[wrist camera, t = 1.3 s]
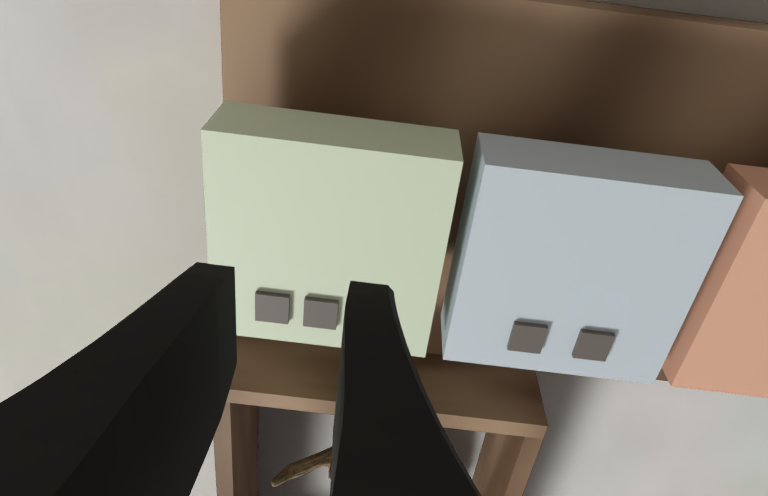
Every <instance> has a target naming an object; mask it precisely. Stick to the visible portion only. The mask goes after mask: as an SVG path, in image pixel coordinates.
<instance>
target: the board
mask: <svg viewBox="0 0 768 496" xmlns="http://www.w3.org/2000/svg"><path fill="white" fill-rule="evenodd" d="M220 21H221V51H222V82H223V102H224V101H230V102H238V103H246V104H254V105H262V106H270V107H278V108H286V109H294V110H302V111H311V112H319V113H327V114H335V115H343V116H351V117H359V118H367V119H375V120H383V121H392V122H400V123H408V124H416V125H424V126H432V127H440V128H448V129H456V130H459V135H460V142H461V149H462V155H463V167H462V172H461V177H460V182H459V187H458V192H457V197H456V203H455V208H454V213H453V218H452V223H451V228H450V233H449V238H448V243H447V248H446V254H445V259H444V264H443V269H442V274H441V279H440V284H439V289H438V294H437V300H436V305H435V310H434V315H433V320H432V325H431V330H430V335H429V340H428V345H427V351H426V356H425V357H416V356H411V357H412V359H413V362H414V364H415V367H416V369H417V372H418V374H419V377H420V379H421V382H422V384H423V386H424V389H425V391H426V393H427V395H428V398H429V400H430V402H431V404H432V406H433V408H434V410H435V412H436V414H437V417H438V419H439V421H440V423H441V425H442V427H445V428H454V429H462V430H471V431H480V432H486V435H485V438H484V442H483V445H482V448H481V452H480V455H479V459H478V462H477V465H476V469H475V472H474V476H473V479H472V481H473V482H474V484H475V486H476V488H477V489H478V491H479V492H480V494H481V495H482V496H522V495H523V492H524V489H525V487H526V484H527V481H528V479H529V476H530V473H531V470H532V468H533V465H534V462H535V460H536V457H537V454H538V452H539V449H540V446H541V444H542V441H543V438H544V435H545V433H546V430H547V427H548V424H547V420H546V416H545V411H544V407H543V403H542V398H541V394H540V389H539V385H538V381H537V376H536V372H535V370H527V369H519V368H510V367H502V366H493V365H484V364H476V363H467V362H459V361H450V360H443V353H442V332H441V311H442V306H443V301H444V297H445V292H446V287H447V282H448V277H449V272H450V267H451V262H452V257H453V252H454V248H455V243H456V238H457V233H458V228H459V223H460V218H461V213H462V208H463V203H464V199H465V194H466V189H467V184H468V179H469V174H470V169H471V164H472V159H473V154H474V150H475V145H476V140H477V135H478V132H481V133H489V134H497V135H505V136H513V137H521V138H529V139H537V140H546V141H554V142H562V143H570V144H578V145H586V146H594V147H602V148H610V149H618V150H627V151H635V152H643V153H651V154H659V155H667V156H675V157H683V158H691V159H699V160H708V161H710V162H711V163H712V164H713V165H714V166H715V167H716V168H717V169H718V170H719V171H720V173H721V174H722V175H723V173H724V171H725V168H726V166H727V164H728V163H732V164H740V165H748V166H756V167H764V168H768V24H765V23H757V22H750V21H742V20H734V19H726V18H718V17H710V16H703V15H695V14H687V13H679V12H671V11H663V10H655V9H648V8H640V7H632V6H624V5H616V4H608V3H600V2H593V1H585V0H220ZM236 336H237V335H236ZM340 353H341V348H339V347H331V346H322V345H314V344H305V343H297V342H288V341H280V340H271V339H262V338H254V337H245V336H237V365H236V368H235V372H234V376H233V379H232V383H231V387H230V390H229V394H228V397H227V401H226V404H225V408H224V411H223V415H222V418H221V420H220V423H219V425H218V428H217V430H216V433H215V435H214V454H215V471H216V487H217V496H258V406H263V407H271V408H280V409H289V410H297V411H306V412H315V413H323V414H332V415H335V406H336V395H337V385H338V374H339V364H340ZM656 380H663V381H668V379H667V377H666V375H665V373H664V371H663V369H662V368H661V370H660V372H659V374H658V376H657V378H656Z"/></svg>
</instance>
